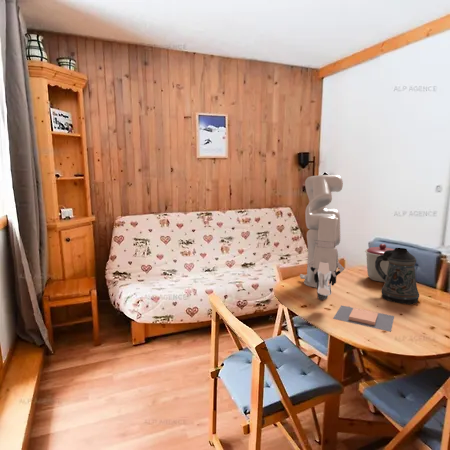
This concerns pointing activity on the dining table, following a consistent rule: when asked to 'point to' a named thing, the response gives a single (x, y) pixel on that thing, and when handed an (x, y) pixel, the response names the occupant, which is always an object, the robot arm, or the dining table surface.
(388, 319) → the mat
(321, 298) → the beverage cup
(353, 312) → the tile
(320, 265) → the beer glass
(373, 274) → the canister
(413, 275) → the beer stein
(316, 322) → the dining table surface
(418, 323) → the dining table surface
